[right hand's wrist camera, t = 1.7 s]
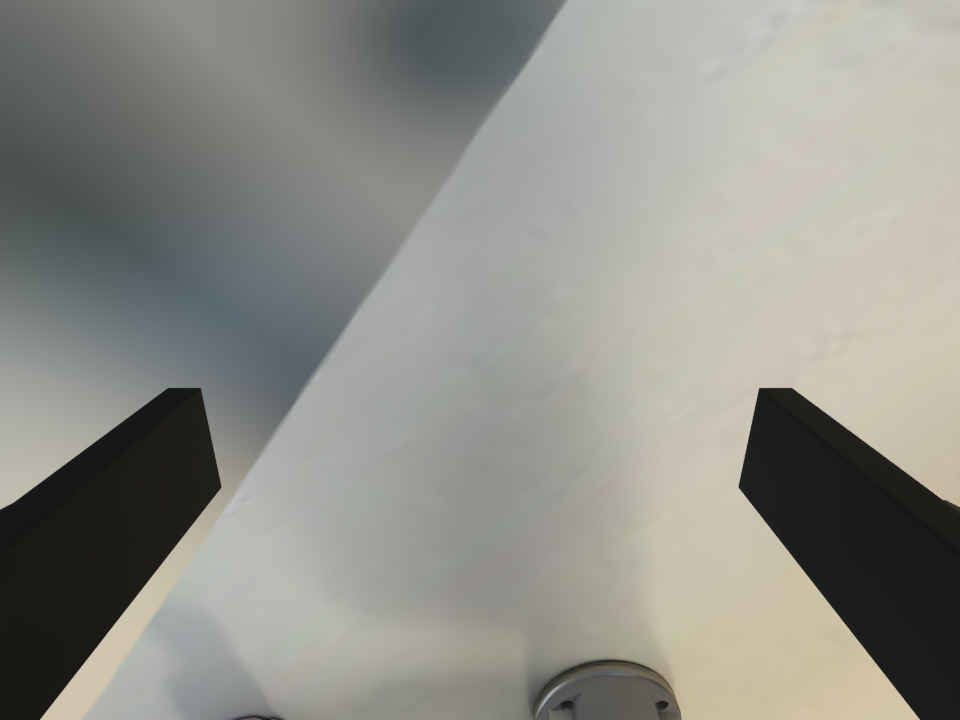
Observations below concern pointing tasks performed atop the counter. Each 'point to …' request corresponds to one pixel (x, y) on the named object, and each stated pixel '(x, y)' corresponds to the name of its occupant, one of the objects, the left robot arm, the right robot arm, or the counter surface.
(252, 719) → the figurine
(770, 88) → the counter surface
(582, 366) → the counter surface
